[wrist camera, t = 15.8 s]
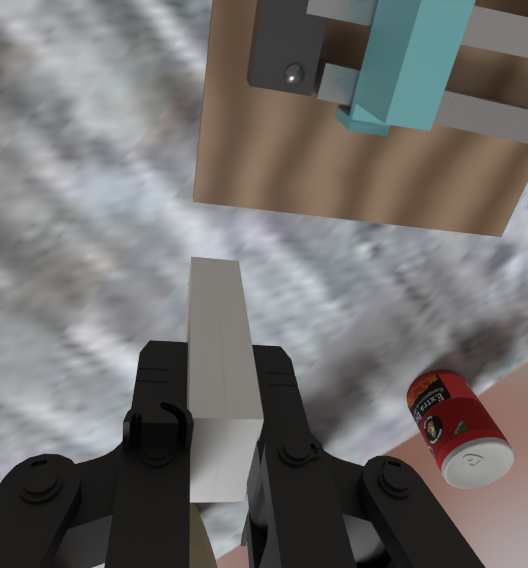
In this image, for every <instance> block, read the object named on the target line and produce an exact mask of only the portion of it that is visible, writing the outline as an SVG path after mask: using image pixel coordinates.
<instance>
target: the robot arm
mask: <svg viewBox="0 0 528 568" xmlns="http://www.w3.org/2000/svg"><path fill="white" fill-rule="evenodd" d="M246 491H247V494H248V503H249V510H248V514H247V518H246V521H245V525H244V529H243V533H242V539H241V546H246V542H247V546H248V557H249V568H485V566H484V565H483V564H482V563H481V561H480V560H479V558H478V557H477V555H476V554H475V553H474V551H473V550H472V548H471V547H470V546H469V544H468V543H467V541H466V540H465V538H464V537H463V536H462V534H461V533H460V531H459V530H458V529H457V527H456V526H455V524H454V523H453V522H452V520H451V519H450V517H449V516H448V515H447V513H446V512H445V511H444V509H443V508H442V506H441V505H440V504H439V502H438V501H437V499H436V498H435V497H434V495H433V494H432V492H431V491H430V489H429V488H428V487H427V485H426V484H425V483H424V481H423V480H422V478H421V477H420V476H419V474H418V473H417V472H416V471H415V470H414V469H413V468H412V467H411V466H410V465H408V464H406V463H405V462H403V461H402V460H400V459H397V458H394V457H390V456H376V457H374V458H372V459H370V460H368V462H367V463H366V465H365V466H361V465H357V464H354V463H351V462H347V461H344V460H341V459H339V458H336V457H334V456H332V455H330V454H328V453H327V452H325V451H324V450H323V448H322V446H321V444H320V443H319V442H318V441H317V440H316V439H315V438H314V437H313V436H312V435H311V433H310V430H309V427H308V423H307V419H306V415H305V411H304V407H303V404H302V400H301V396H300V392H299V388H298V384H297V380H296V377H295V373H294V369H293V365H292V361H291V359H290V357H289V356H288V355H287V354H286V353H285V351H284V350H283V349H282V348H281V346H263V345H252V342H251V335H250V329H249V323H248V317H247V310H246V304H245V298H244V292H243V285H242V279H241V273H240V267H239V261H233V260H222V259H211V258H200V257H191V265H190V275H189V284H188V294H187V303H186V313H185V323H184V342H170V341H152V340H150V341H149V342H148V343H147V345H146V346H145V347H144V348H143V350H142V351H141V352H140V355H139V361H138V368H137V375H136V382H135V388H134V394H133V401H132V407H131V409H130V410H129V411H128V412H127V414H126V417H125V419H124V421H123V441H122V442H121V444H119V445H118V446H117V447H116V448H115V449H114V450H113V451H111V452H109V453H108V454H106V455H104V456H101V457H99V458H96V459H93V460H89V461H86V462H82V463H78V464H74V462H73V461H72V460H71V459H69V458H66V457H64V456H61V455H59V454H42V455H38V456H34V457H30V458H28V459H26V460H25V461H23V462H21V463H19V464H18V465H16V466H15V467H14V468H13V469H12V470H11V471H10V472H9V473H8V474H7V475H6V476H5V477H4V479H3V480H2V482H1V483H0V568H92V567H95V566H98V565H100V564H103V563H105V568H189V562H190V503H192V502H244V499H245V495H246Z"/></svg>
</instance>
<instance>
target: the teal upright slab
mask: <svg viewBox="0 0 528 568" xmlns="http://www.w3.org/2000/svg"><path fill="white" fill-rule="evenodd" d="M475 1H476V0H379V1H378V5H377V9H376V13H375V17H374V21H373V25H372V29H371V32H370V36H369V40H368V44H367V48H366V52H365V56H364V60H363V64H362V68H361V72H360V75H359V79H358V83H357V87H356V91H355V95H354V99H353V103H352V107H351V110H349V109H343V108H338V109H337V113H336V117H335V118H336V119H337V120H338V121H339V122H340V123H341V124H342V125H343V126H345V127H346V128H347V129H348V130H349V131H354V132H361V133H368V134H374V135H381V136H387V135H388V132H389V129H390V126H391V125H395V126H401V127H407V128H414V129H420V130H426V131H431V128H432V125H433V122H434V119H435V116H436V113H437V110H438V107H439V105H440V102H441V99H442V96H443V93H444V90H445V87H446V84H447V81H448V79H449V76H450V73H451V70H452V67H453V64H454V61H455V58H456V56H457V53H458V50H459V47H460V44H461V41H462V38H463V35H464V32H465V30H466V27H467V24H468V21H469V18H470V15H471V12H472V9H473V6H474V4H475Z"/></svg>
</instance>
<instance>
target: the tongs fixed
mask: <svg viewBox="0 0 528 568" xmlns="http://www.w3.org/2000/svg"><path fill="white" fill-rule="evenodd" d="M378 1H379V0H257V4H256V11H255V18H254V25H253V32H252V39H251V47H250V54H249V61H248V68H247V75H246V80H247V82H248V84H249V86H252V87H258V88H264V89H270V90H276V91H282V92H288V93H294V94H300V95H306V96H311V94H312V90H313V85H314V80H315V75H316V71H317V66H318V61H319V56H320V52H321V47H322V42H323V37H324V33H325V28H326V23H327V18H331V19H336V20H341V21H346V22H351V23H356V24H361V25H366V26H371V27H372V25H373V21H374V17H375V13H376V9H377V5H378ZM461 45H466V46H471V47H476V48H481V49H486V50H491V51H496V52H501V53H506V54H511V55H515V56H520V57H525V58H528V17H524V16H519V15H515V14H510V13H506V12H501V11H497V10H492V9H488V8H483V7H478V6H473V9H472V12H471V15H470V18H469V21H468V24H467V27H466V30H465V32H464V35H463V38H462V41H461Z"/></svg>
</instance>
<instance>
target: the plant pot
mask: <svg viewBox="0 0 528 568" xmlns="http://www.w3.org/2000/svg"><path fill="white" fill-rule="evenodd" d="M189 568H217V564H216V560H215V557H214V553H213V550H212V547H211V544H210V541H209V538H208V535H207V532H206V529H205V526H204V524H203V521H202V519H201V516H200V514H199V512H198V509H197V507H196V505H195V504H194V503H193V502H192V503H190V562H189Z"/></svg>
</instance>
